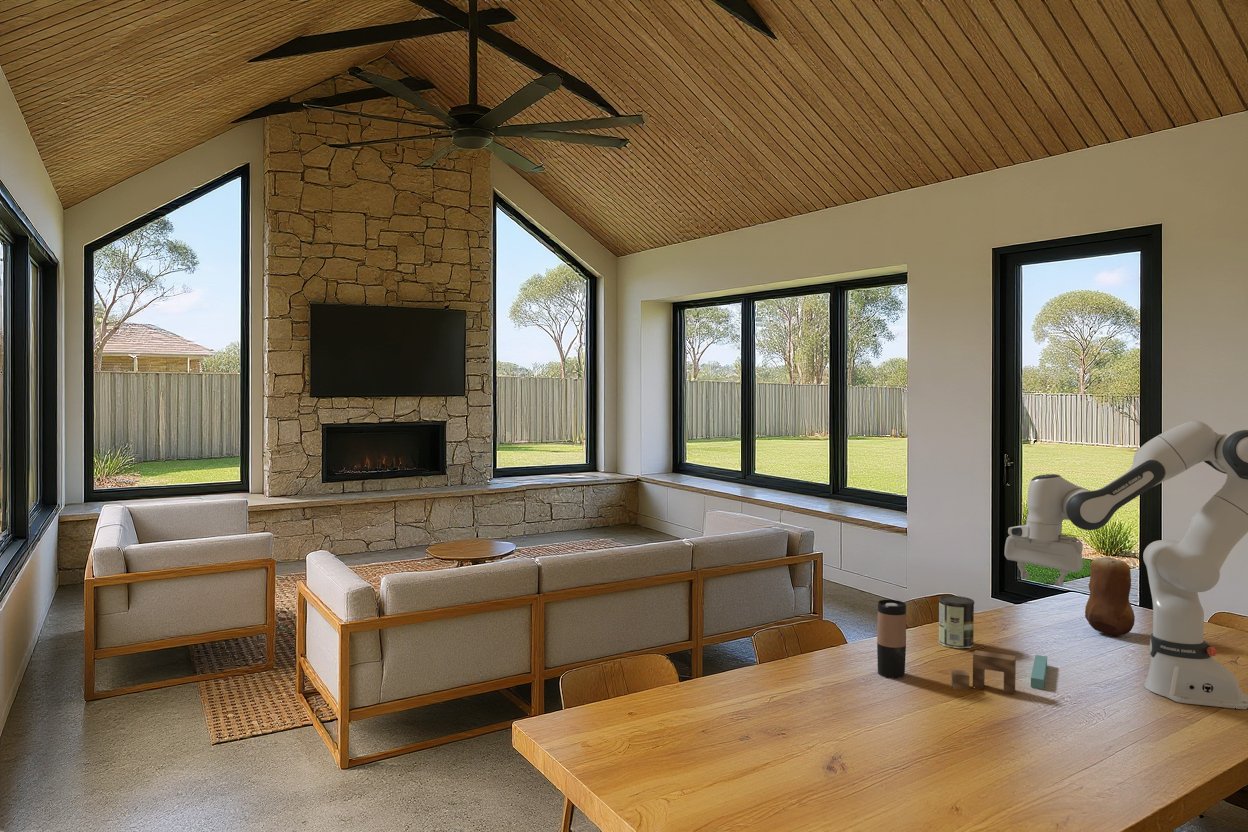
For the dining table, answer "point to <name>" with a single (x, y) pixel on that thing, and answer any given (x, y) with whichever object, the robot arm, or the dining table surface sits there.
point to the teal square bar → (1039, 672)
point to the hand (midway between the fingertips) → (1041, 581)
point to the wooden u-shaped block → (994, 668)
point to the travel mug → (891, 638)
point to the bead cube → (959, 679)
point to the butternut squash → (1110, 597)
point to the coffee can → (956, 621)
